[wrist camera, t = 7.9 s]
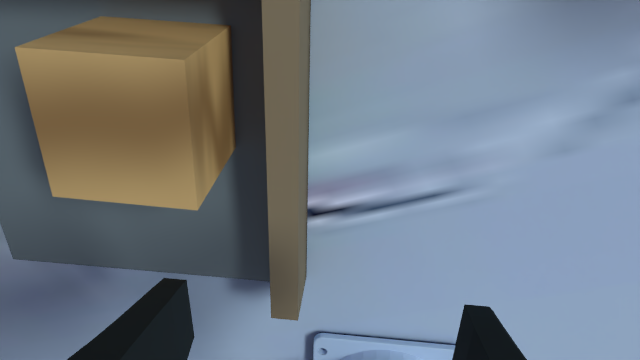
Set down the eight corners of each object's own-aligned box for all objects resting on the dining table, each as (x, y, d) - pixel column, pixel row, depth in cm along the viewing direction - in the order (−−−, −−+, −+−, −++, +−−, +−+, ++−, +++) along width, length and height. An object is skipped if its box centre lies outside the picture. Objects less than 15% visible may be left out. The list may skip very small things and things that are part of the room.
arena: (306, 276, 24) (297, 320, 21) (20, 251, 25) (-21, 290, 23) (311, -60, 17) (299, -56, 14) (-89, -73, 18) (-169, -72, 15)
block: (235, 147, 20) (197, 210, 16) (120, 137, 21) (52, 196, 16) (230, 25, 18) (184, 59, 14) (100, 16, 18) (14, 46, 14)
